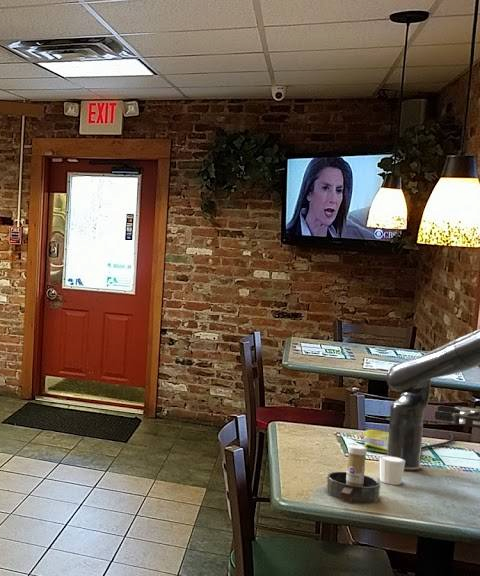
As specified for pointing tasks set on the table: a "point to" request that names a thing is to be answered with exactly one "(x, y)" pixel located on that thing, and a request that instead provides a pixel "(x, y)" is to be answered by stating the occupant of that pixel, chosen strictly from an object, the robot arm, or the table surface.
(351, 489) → the pan handle
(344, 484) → the pan
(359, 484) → the sprinkles bottle
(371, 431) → the dish towel
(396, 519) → the table surface
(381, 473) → the white cup
